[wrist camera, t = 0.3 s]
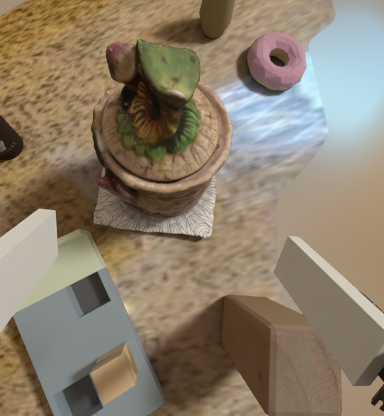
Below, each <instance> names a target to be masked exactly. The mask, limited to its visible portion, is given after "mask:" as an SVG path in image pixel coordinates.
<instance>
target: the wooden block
mask: <svg viewBox="0 0 384 416" xmlns="http://www.w3.org/2000/svg"><path fill="white" fill-rule="evenodd" d="M221 343H222V346H223V348H224V349H225V351H226V352H227V354H228V355H229V357H230V359H231V360H232V362H233V363H234V365H235V366H236V368H237V370H238V371H239V373H240V374H241V376H242V377H243V379H244V380H245V382H246V384H247V385H248V387H249V388H250V390H251V391H252V393H253V394H254V396H255V398H256V399H257V401H258V402H259V404H260V405H261V407H262V408H263V410H264V412H265V413H266V414H268V415H269V416H341V413H342V389H341V368H340V366H339V365H338V363H337V362H336V360H335V359H334V358H333V356H332V355H331V353H330V352H329V350H328V349H327V348H326V346H325V345H324V343H323V342H322V340H321V339H320V338H319V336H318V335H317V333H316V332H315V330H314V329H313V327H312V326H311V325H310V323H309V322H308V320H307V319H306V317H305V316H304V315H302V314H300V313H298V312H296V311H294V310H291V309H289V308H287V307H285V306H283V305H281V304H279V303H276V302H274V301H272V300H270V299H268V298H266V297H253V296H240V295H227V296H225V299H224V309H223V324H222V340H221Z"/></svg>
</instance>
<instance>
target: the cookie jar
mask: <svg viewBox="0 0 384 416" xmlns="http://www.w3.org/2000/svg"><path fill="white" fill-rule="evenodd" d="M106 59H107V62H108V67H109V71H110V75H111V77H112V79H113V80H115V81H117V82H120V83H119V84H118V85H117V86H115V87H114V88H112V89H110V90H107V91H106V93H105V95H104V96H103V97H101V98H100V100H99V103H98V104H97V105H96V106H95V107H94V109H93V122H92V125H91V131H92V134H93V136H92V137H93V141H94V148H95V151H96V154H97V157H98V159H99V161H100V163H101V165H102V166H103V170H102V174H101V178H99V179H98V180H97V184H98V185H99V191H98V200H97V204H96V208H95V211H94V220H93V221H94V223H95V224H101V225H106V226H111V227H114V228H119V229H130V230H139V231H143V232H163V233H172V234H186V235H193V236H200V237H203V238H207V237H209V236H210V235H211V231H212V223H213V217H214V214H213V208H214V206H215V174H216V173H217V172H218V171H219V169H220V168H221V167H222V166H223V165H224V163H225V162H226V161H227V159H228V158H229V153H230V148H231V140H232V132H233V130H232V124H231V121H230V118H229V115H228V113H227V110H226V109H225V107H224V105H223V103H222V101H221V99H220V98H219V96H218V95H217V94H216V93H215V92H214V91H213V90H212V89H211V88H210V87H208V86H207V85H205V84H203V83H201V82H200V81H199V80H200V62H199V59H198V57H197V55H196V53H195V52H194V51H192V50H189V49H186V48H175V47H171V46H165V45H158V44H153V43H150V42H146V41H144V40H141V39H138V40H137V44H134V43H120V42H115V43H112V44H110V45H108V47H107V50H106Z"/></svg>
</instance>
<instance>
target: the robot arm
mask: <svg viewBox="0 0 384 416" xmlns="http://www.w3.org/2000/svg"><path fill="white" fill-rule="evenodd" d="M57 256H58V245H57V226H56V210H47V209H38V210H36V211H35V212H34V213H33V214H31V215H30V216H29V217H27V218H26V219H25V220H23V221H22V222H21V223H19V224H18V225H17V226H15V227H14V228H13V229H11V230H10V231H9V232H7V233H6V234H5V235H3V236H2V237H1V238H0V332H1V331H2V330H3V328H4V327H5V326H6V324H7V323H8V322H9V320H10V319H11V318H12V316H13V315H14V314H15V312H16V311H17V310H18V308H19V307H20V306H21V304H22V303H23V302H24V300H25V299H26V298H27V296H28V295H29V294H30V292H31V291H32V290H33V288H34V287H35V286H36V284H37V283H38V282H39V280H40V279H41V278H42V276H43V275H44V274H45V272H46V271H47V270H48V268H49V267H50V266H51V264H52V263H53V262H54V260H55V259H56V258H57ZM274 273H275V274H276V276H277V277H278V279H279V280H280V282H281V283H282V284H283V286H284V287H285V289H286V290H287V291H288V293H289V294H290V296H291V297H292V299H293V300H294V302H295V303H296V304H297V306H298V307H299V309H300V310H301V312H302V313H303V315H304V316H305V317H306V319H307V320H308V322H309V323H310V325H311V326H312V327H313V329H314V330H315V332H316V333H317V335H318V336H319V338H320V339H321V340H322V342H323V343H324V345H325V346H326V348H327V349H328V350H329V352H330V353H331V355H332V356H333V358H334V359H335V360H336V362H337V363H338V365H339V366H340V368H341V369H342V370H343V372H344V373H345V375H346V376H347V378H348V379H349V381H350V382H351V383H352V385H353V386H369V385H371V384H372V382H373V381H374V380H375V378H376V377H377V376H378V375H379V377H380V378H381V379H382V380H383V382H384V312H382V310H381V309H380V308H379V307H378V306H376V305H374V304H373V302H372V301H371V300H370V299H369V298H368V297H366V296H365V295H364V294H363V293H361V292H360V291H358V290H357V289H356V288H355V287H354V286H353V285H351V284H350V283H349V282H348V281H347V280H346V279H345V278H344V277H343V276H342V275H340V274H339V273H338V272H337V271H336V270H335V269H334V268H333V267H332V266H331V265H329V264H328V263H327V262H326V261H325V260H324V259H323V258H322V257H320V255H318V254H317V253H316V252H315V251H314V250H313V249H312V248H311V247H310V246H308V245H307V244H306V243H305V242H304V241H303V240H302V239H301V238H300V237H293V236H288V237H287V240H286V242H285V245H284V248H283V250H282V253H281V255H280V258H279V260H278V263H277V265H276V268H275V270H274ZM379 400H381V401H383V405H382V406H381V407H380V409H381V410H382V411H384V385H383V386H382V387H381V388H380V389H379V391H378V392H377V393H376V394H375V396H374V397H373V398H372V401H371V404H372V405H374V406H375V405H376V404H377V402H378V401H379Z"/></svg>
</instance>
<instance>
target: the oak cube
mask: <svg viewBox="0 0 384 416" xmlns="http://www.w3.org/2000/svg"><path fill="white" fill-rule="evenodd" d="M137 372H138V366H137V364H136V362H135V360H134V357H133V355H132V353H131V351H130V349H129V347H128V344H127V342H124V343H122V344H121V345H119V346H117V347H116V348H114V349H112V350H111V351H109V352H107V353H105V354H104V355H102V356H100V357H99V358H98V360H97V362H96V364H95V366H94V367H93V369H92V371H91V373H90V374H91V376H92V379H93V381H94V383H95V386H96V388H97V390H98V392H99V395H100V397H101V399H102V402H103V404H104V405H105V404H107V403H108V402H110V401H111V400H113V399H114V398H116V397H118V396H119V395H121V394H122V393H124V392H125V391H127V390H128V389H130V388H131V387H133V386H135V383H136V378H137Z"/></svg>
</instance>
